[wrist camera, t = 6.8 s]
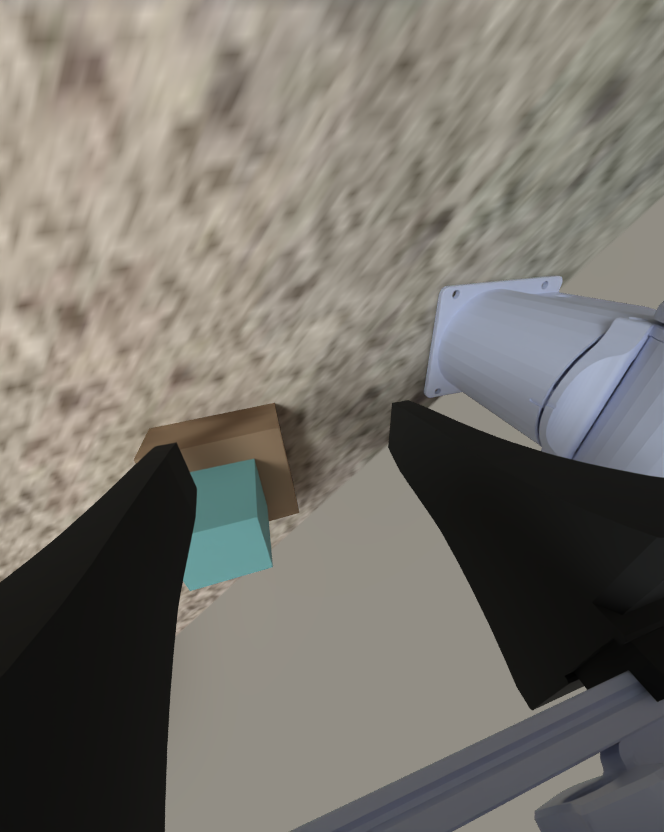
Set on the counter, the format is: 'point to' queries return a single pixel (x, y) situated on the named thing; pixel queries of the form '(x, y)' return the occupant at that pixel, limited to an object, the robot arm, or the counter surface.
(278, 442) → the walnut block
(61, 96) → the counter surface
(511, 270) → the counter surface
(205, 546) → the teal cube
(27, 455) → the counter surface
